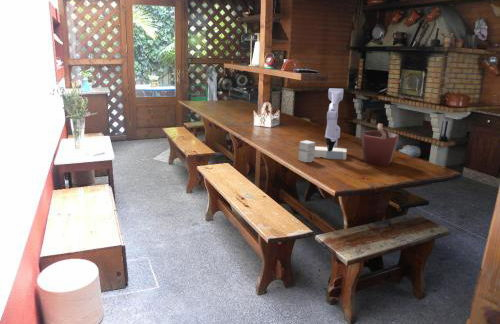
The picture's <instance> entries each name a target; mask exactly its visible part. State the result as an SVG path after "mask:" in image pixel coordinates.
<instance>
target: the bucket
mask: <svg viewBox="0 0 500 324" xmlns="http://www.w3.org/2000/svg"><path fill="white" fill-rule="evenodd" d="M383 125H384V124H383V123H378V124H377V130H367V131H362V132H361V137H360V138H361V146H362V157H363V162H365V164H368V165H371V166H372V165H373V166H378V167H379V166H382V167H384V166H387V167H388V166H389V165H390V164H391V162H392V161H393V156H394V153H395V150H396V147H397V146H398V145H397V144H398V141H399V138H400V137H399V136H400V134H397V133H394V132H391V131H385V130H384V128H383Z"/></svg>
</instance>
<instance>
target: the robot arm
mask: <svg viewBox="0 0 500 324" xmlns="http://www.w3.org/2000/svg"><path fill="white" fill-rule="evenodd" d="M327 93H328V94H327V96H328V97H327V98H328V100H329V101H331V103H329V106H328V111H327V113H326V128H325V135H324V139H325V142H326V147H327V149H329V151H332V150H333V148H338V139H340V137H341V127H340V126H339V125H338V117H339V104H340V102H341V101H343V97H344V88H331V87H330V88H329V89H328V92H327Z"/></svg>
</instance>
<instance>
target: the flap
mask: <svg viewBox="0 0 500 324" xmlns="http://www.w3.org/2000/svg"><path fill="white" fill-rule="evenodd" d="M342 158H343V151H329V149H328V151H327V153H326V158H325V159H326V160H328V159H329V160H343V159H342Z"/></svg>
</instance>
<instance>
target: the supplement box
mask: <svg viewBox="0 0 500 324" xmlns="http://www.w3.org/2000/svg"><path fill="white" fill-rule="evenodd" d="M315 146H316V142H315V141H311V140H306V139H305V140H301V141H299V148H298V149H299V150H298V151H299V152H298V161H299V160H300V162H303V163H306V162H309V163H312V161H313V162H315V157H314V155H315Z"/></svg>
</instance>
